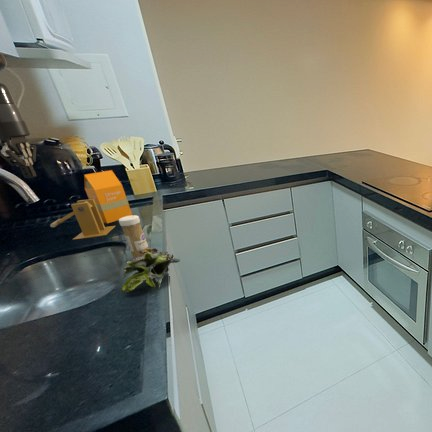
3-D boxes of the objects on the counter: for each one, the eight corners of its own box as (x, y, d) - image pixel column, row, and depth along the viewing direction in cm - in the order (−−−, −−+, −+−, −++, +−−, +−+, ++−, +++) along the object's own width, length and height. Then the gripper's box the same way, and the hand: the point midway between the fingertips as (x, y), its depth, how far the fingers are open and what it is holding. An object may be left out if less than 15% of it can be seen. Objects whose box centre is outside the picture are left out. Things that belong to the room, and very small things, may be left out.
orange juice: (133, 218, 122) (117, 170, 115) (108, 225, 115) (88, 175, 108) (123, 215, 125) (106, 169, 118) (97, 222, 118) (78, 173, 111)
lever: (54, 229, 100) (47, 224, 99) (62, 224, 104) (55, 219, 103) (88, 209, 102) (81, 203, 100) (94, 204, 106) (88, 199, 105)
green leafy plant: (163, 293, 83) (180, 251, 85) (170, 303, 75) (189, 258, 77) (111, 286, 75) (132, 241, 77) (114, 297, 67) (136, 247, 69)
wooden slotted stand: (73, 242, 101) (58, 207, 97) (86, 232, 109) (72, 199, 105) (106, 237, 105) (93, 203, 100) (116, 228, 112) (104, 196, 108)
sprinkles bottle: (149, 259, 90) (135, 218, 85) (131, 263, 88) (115, 221, 83) (153, 253, 93) (139, 213, 89) (135, 256, 92) (120, 216, 87)
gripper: (3, 119, 91) (28, 174, 97) (-33, 121, 80) (-1, 183, 86) (35, 118, 94) (58, 172, 100) (5, 120, 82) (33, 181, 89)
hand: (30, 177), depth 93 cm, fingers closed
